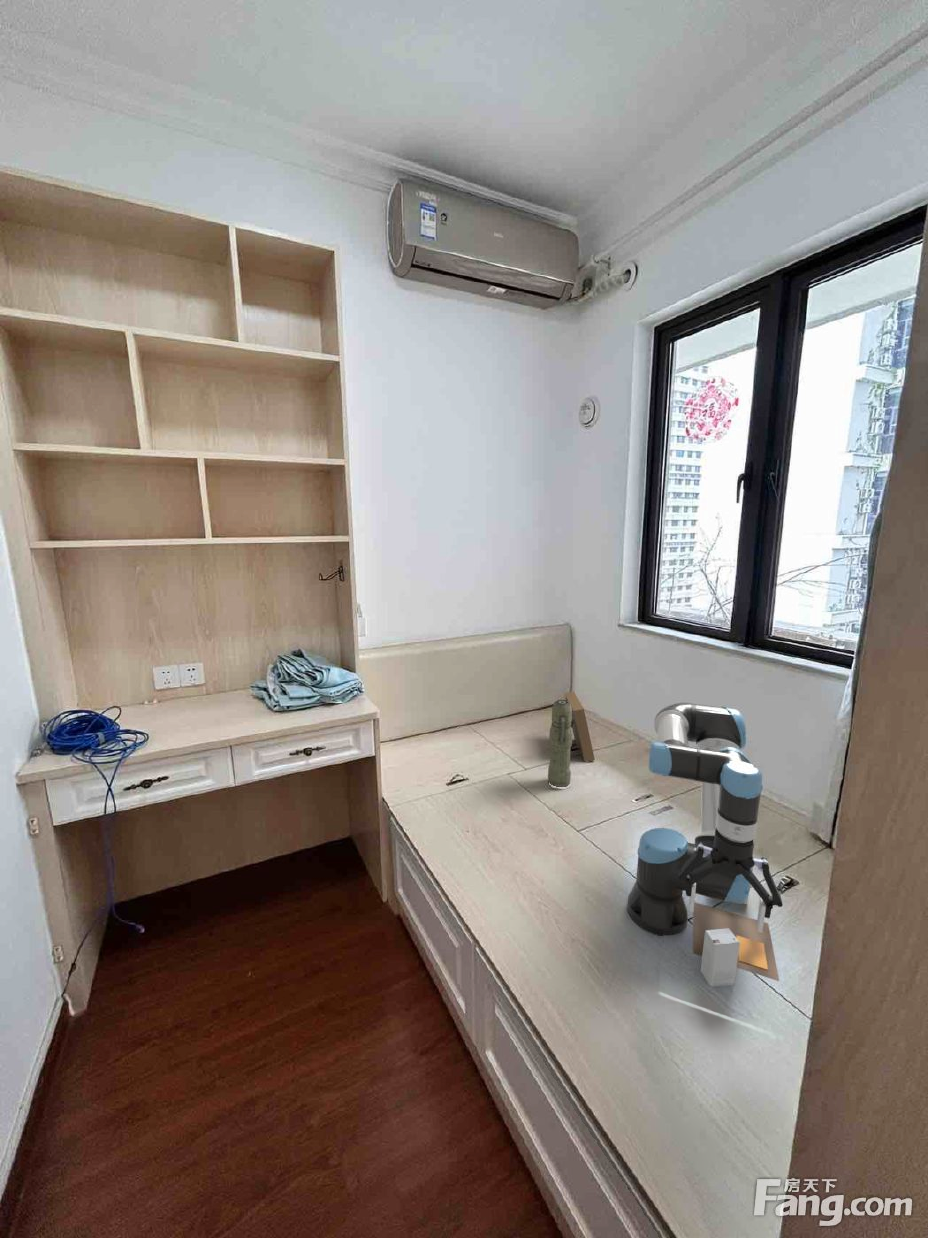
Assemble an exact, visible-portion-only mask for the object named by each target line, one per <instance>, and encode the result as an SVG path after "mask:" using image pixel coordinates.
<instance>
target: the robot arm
mask: <svg viewBox="0 0 928 1238" xmlns="http://www.w3.org/2000/svg"><path fill="white" fill-rule="evenodd" d="M745 722H746V721H745V719H744V717H743V714H742V712H741V711H739V710H738V709H735V708H730V707H726V706H722V707H721V706H714V705H706V704H705V705H704V704H697V703H690V702H680V703H677V702H676V703H674V704H671V705H668V706H666V707H664V708H662V709H661V710H660V711H659V712H657V714H656V715H655V717H654V722H653V726H654V731H655V733H656V735H657V742H656V741H655V742H654V741H653V742H651V743H650V747H649V759H648V770H649V772H651V773H652V774H656V775H661V776H663V777H670V778H674V779H675V778H676V779H683V780H689V781H694V782H701V784H700V785H701V787H700V788H701V790H700V792H701V797H700V798H701V800H700V801H701V802H700V803H701V806H700V808H701V814H700V817H701V818H700V823H701V825H700V828H701V829H700V833H698V835H696V836H695V837H694V843H692V842H688V839H687V838H686V837H685V836H684V834H682V833H681V832H679V831H677V830H675V829H672V828H666V827H655V828H651V829H649V830H647V831H645V832H644V833H643V834H642V835H641V836H640V838H639V842H638V843H639V844H638V847H637V856H638V857H637V864H636V865H637V866H636V867H637V868H636V875H635V877H636V878H635V882H634V885H633V886H632V888H631V890H630V892H629V894H628V897H627V904H626V908H627V912H628V915H629V917H630V918H631V920H632V922H634V923H635V924H636V925H637V926H638V927H640V928H641V929H643V930H644V931H646V932H648V933H651V934H653V935H656V936H662V937H664V936H675V935H678V934H681V933H683V931H685V929H686V928H687V925H688V918H689V917H688V910H687V906H686V903H685V900H684V899H685V898H684V895H683V891H684V892H685V895H686V896H687V897H690V898H689V912H690V913H693V911H694V902H695V900H696V895H700V896H703V897H708V898H710V899H711V898H712V899H716V900H719V901H722V902H724V903H726V902H729V903H733V904H736V905H738V904H739V905H740V904H742V903H744V902H745V901H746V900H747V898H748V897H749V895H750V892H751V887H752V888H753V890H754V891H755V892H756V894H757V895H758V896H759V903H758V904H759V905H758V911H757V918H756V920H757V927H758V932H761V933H762V931H763V924H764V922H765V918H766V919H770V918H771V914H772V913H771V912H772V910H773V908H774V906H776V907H779V908H781V907H782V908H783V901H782V896H781V894H780V892H779V890H778V887H777V886H776V883H775V880H774V878H773V875H772V874H771V872H770V865H769V861H768V858H767V857H765V856H762V857H761V858H760V859H759V858H756V857H755V858H754V849H755V847H754V846H755V838H756V831H757V823H758V816H759V809H760V803H761V802H760V801H761V794H762V791H763V773H762V772H761V769H759V768H757V767H756V766H755V765H753V764H751V762H750V760H749V759H748V757H747V756H746V754H745V753H744V752H743V751H742V750H743V749H745V747H746V745H747V744H746V743H747V735H746V734H747V729H746V723H745ZM689 742H691V743H695V747H690V745H689ZM754 866H755V867H757V869H758V871H760V872H762V876H763V878H764V881H765V883H766V884H767V887H768V889H769V891H770V893H769V892H768V891H767V889H766V888H765V887H764V886H763V884H762V883H761V882H760V880H759V879H758V878H757V876H756V875H755V874H754V872H753V869H754ZM770 894H771V895H770ZM748 899H749V898H748ZM742 905H743V904H742Z"/></svg>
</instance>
